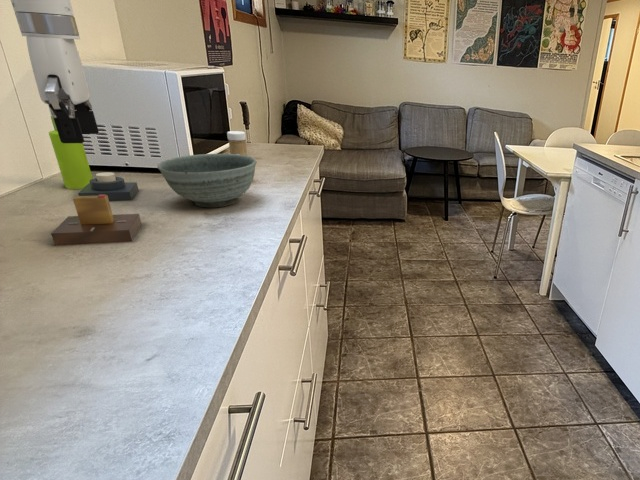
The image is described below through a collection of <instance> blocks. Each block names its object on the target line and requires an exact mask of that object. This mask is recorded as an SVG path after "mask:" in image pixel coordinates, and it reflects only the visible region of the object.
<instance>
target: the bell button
mask: <svg viewBox="0 0 640 480" xmlns="http://www.w3.org/2000/svg"><path fill="white" fill-rule="evenodd" d="M115 177H116V175H115V172H111V171H110V172H109V171H107V172H104V171H103V172H98V173H95V178H97V181H98V182H111V181H116V178H115Z"/></svg>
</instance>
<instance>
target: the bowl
mask: <svg viewBox="0 0 640 480" xmlns="http://www.w3.org/2000/svg"><path fill="white" fill-rule="evenodd" d="M256 165H257V160H256V158H254V157H252V156H244V155H236V154H230V153H202V154H191V155H182V156H177V157H173V158H169V159H166V160H164V161H161V162H160V163H158V164H157V169H158V170H159V171H160V173H161V176H162V177H163V178H164V179H165V182H166V183H167V184H168V186H169V187H170V188H171V190H173V192H175V193H176V194H177V195H178V196H180V197H181V198H184V199H185V200H188V201H192V202H194V204H195V205H196V206H198V207H202V208H220V207H227V206H230V205H233V204H235V203H237V201H238V198H239V197H241V196H243V195H244V194H245V193H246V192H247V191H248V190H249V189H250V187H251V186H252V184H253V180H254V177H255V172H256V171H255V170H256Z"/></svg>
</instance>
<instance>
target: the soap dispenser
mask: <svg viewBox="0 0 640 480" xmlns="http://www.w3.org/2000/svg"><path fill="white" fill-rule="evenodd" d="M47 105H48V106H49V104H47ZM50 120H51V124H52V126H53V129H54V130H51V131H48V136H49V139H50V142H51V145H52V148H53V151H54V155H55V158H56V161H57V165H58V167H59V170H60V175H61V177H62V180H63V183H64V187H65V188H66V189H68V190H82V189H83V188H84V187H85V186H86V185H87V184H89V183H90V182H89V181H90V180H91V179H94V178H93V174H92V171H91V167H90V164H89V160H88V157H87V154H86V150H85V147H84V142H83V143H62V142H61V141H60V137H59V134H58V131H57V128H56V125H55V122H54V118H53V116H52V115H51V116H50Z"/></svg>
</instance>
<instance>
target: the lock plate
mask: <svg viewBox="0 0 640 480" xmlns="http://www.w3.org/2000/svg"><path fill="white" fill-rule="evenodd" d="M113 218H114V221H113V223H111V224H87V225H81V223H80V220H79V217H78V215H68V216H67V217H65V219H64V220H63V221H62V222H61V223H60V224H59V225H57V227H56V228H55V229H53V231H51V232H50V235H51V239H52V241H53V245H54V246H55V247H58V246H59V247H60V246H76V245H77V246H78V245H94V244H95V245H97V244H98V245H99V244H112V243H115V244H117V243H131V242H133V241H134V240H135V238H136V236H137V234H138V232H139V231H140V229H141V227H142V224H143V223H142V219H141V216H140V213H125V214H124V213H121V214H119V213H118V214H113Z"/></svg>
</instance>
